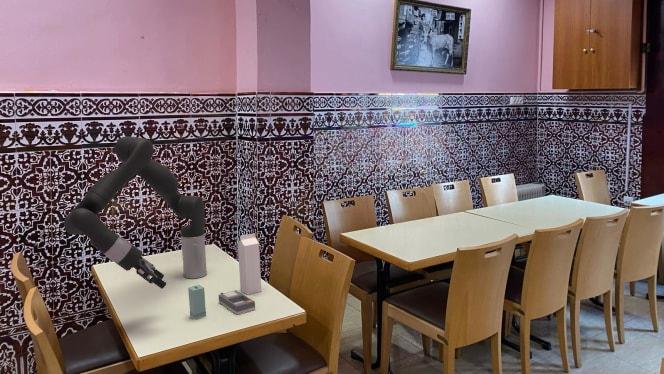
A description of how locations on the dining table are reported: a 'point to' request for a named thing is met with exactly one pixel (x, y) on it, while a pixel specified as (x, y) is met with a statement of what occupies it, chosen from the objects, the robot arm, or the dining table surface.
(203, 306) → the block
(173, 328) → the dining table surface
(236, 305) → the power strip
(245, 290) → the milk
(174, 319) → the dining table surface
